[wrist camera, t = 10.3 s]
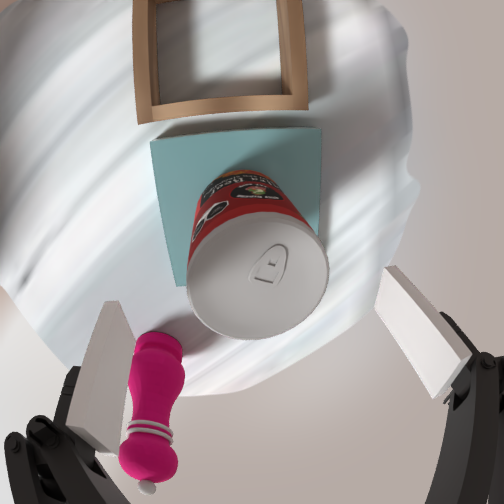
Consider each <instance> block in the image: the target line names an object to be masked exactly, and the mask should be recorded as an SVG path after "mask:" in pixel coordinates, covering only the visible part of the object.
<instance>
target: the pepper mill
mask: <svg viewBox="0 0 504 504" xmlns="http://www.w3.org/2000/svg"><path fill="white" fill-rule="evenodd" d="M181 362H182V347H181V345H180V343H179V342H178V341H177V340H176V339H174V338H173V337H171V336H169V335H167V334H164V333H160V332H150V333H146V334H143V335H141V336H140V337H139V338H138V339H137V342H136V346H135V350H134V355H133V358H132V363H131V368H130V374H129V380H128V386H129V389H130V392H131V396H132V401H133V416H132V420H131V421H130V422H128V423H127V425H126V427H127V431H126V432H125V434H126V436H127V438H128V439H127V440H125V441H124V442H123V443H122V444H121V445H120V447H119V457H118V458H119V462H120V465H121V467H122V469H123V470H124V471H125V472H126V473H127V474H128V475H130V476H131V477H133V478H135V479H138V480H140V482H139V483H138V489H139V491H140V492H141V493H143V494H145V495H151V494H154V493H155V491H156V486H155V484H154V483H159V482H164V481H166V480H169V479H170V478H172V477H173V476H174V474H175V473H176V470H177V467H178V459H177V455H176V453H175V451H174V450H173V449H172V448H171V447H170V445H172V443H173V439H172V437H173V431H172V430H171V429H170V428H169V418H170V411H171V408H172V406H173V404H174V402H175V400H176V399H177V397H178V395H179V394H180V392H181V390H182V388H183V385H184V379H185V371H184V368H183V366H182V365H181Z"/></svg>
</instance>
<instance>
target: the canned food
mask: <svg viewBox="0 0 504 504" xmlns="http://www.w3.org/2000/svg"><path fill="white" fill-rule="evenodd" d="M328 281H329V262H328V257H327V254H326V252H325V249H324V247H323V245H322V243H321V240H320V239H319V238H318V236H317V235H316V234H315V232H314V230H313V229H312V228H311V226H310V225H309V224H308V222H307V221H306V220H305V219H304V217H303V216H302V215H301V213H300V212H299V211H298V210H297V208H296V207H295V206H294V205H293V203H292V202H291V201H290V200H289V199H288V197H287V196H286V195H285V194H284V192H283V191H282V190H281V189H280V188H279V186H278V185H277V184H276V183H275V182H274V181H273V180H272V179H271V178H269V177H268V176H266V175H264V174H262V173H260V172H257V171H253V170H236V171H231V172H228V173H225V174H223V175H221V176H219V177H218V178H216V179H215V180H213V181H212V182H211V183H210V184H209V185H208V186H207V187H206V189H205V190H204V191H203V193H202V194H201V196H200V198H199V201H198V203H197V208H196V212H195V218H194V224H193V230H192V236H191V243H190V249H189V256H188V263H187V274H186V286H187V296H188V300H189V303H190V306H191V308H192V310H193V312H194V313H195V315H196V316H197V318H198V319H199V320H200V321H201V322H202V323H203V324H204V325H205V326H207V327H208V328H209V329H211V330H212V331H214V332H216V333H218V334H220V335H222V336H226V337H229V338H233V339H240V340H259V339H265V338H270V337H273V336H276V335H279V334H282V333H284V332H286V331H288V330H290V329H292V328H294V327H295V326H297V325H298V324H299V323H301V322H302V321H304V320H305V319H306V318H307V317H308V316H309V315H310V314H311V313H312V312H313V311H314V309H315V308H316V307H317V305H318V304H319V303H320V301H321V299H322V297H323V295H324V293H325V291H326V287H327V284H328Z"/></svg>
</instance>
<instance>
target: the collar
mask: <svg viewBox="0 0 504 504" xmlns="http://www.w3.org/2000/svg"><path fill="white" fill-rule="evenodd" d="M172 1H179V0H133V14H132V42H133V71H134V87H135V100H136V111H137V121H138V125H139V124H144V123H150V122H155V121H161V120H167V119H174V118H181V117H188V116H196V115H205V114H215V113H227V112H241V111H262V110H309V109H308V79H307V59H306V43H305V29H304V17H303V6H302V0H276V4H277V16H278V30H279V45H280V62H281V82H282V95H252V96H233V97H220V98H209V99H200V100H191V101H184V102H177V103H170V104H164V105H160V94H159V79H158V61H157V32H156V4H161V3H166V2H172Z"/></svg>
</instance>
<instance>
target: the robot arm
mask: <svg viewBox="0 0 504 504" xmlns="http://www.w3.org/2000/svg"><path fill="white" fill-rule="evenodd" d="M374 309H375V311H376V312H377V313H378V315H379V316H380V318H381V319H382V321H383V322H384V323H385V325H386V326H387V328H388V329H389V331H390V332H391V334H392V335H393V337H394V338H395V340H396V341H397V343H398V344H399V346H400V347H401V349H402V350H403V352H404V353H405V355H406V357H407V358H408V360H409V361H410V363H411V364H412V366H413V367H414V369H415V370H416V372H417V374H418V376H419V377H420V379H421V380H422V382H423V384H424V385H425V387H426V389H427V390H428V392H429V394H430V395H431V397H432V399H434V398H436V397H438V396H440V395H442V394H444V393H445V392H446V391H447V389H448V388H449V387H450V385H451V387H452V388H453V390H452V391H451V392H450V394H449V395H448V396H447V397H446V399H445V400H444V402H443V404H445V403H446V402H447V401H448V400H449V399H450V402H449V403H448V405H449V409H448V416H447V422H446V428H445V433H444V438H443V443H442V447H441V452H440V456H439V460H438V464H437V467H436V471H435V474H434V478H433V481H432V485H431V487H430V491H429V493H428V496H427V499H426V502H425V504H486V503H487V499H488V504H504V356H500V357H494V356H492V355H491V354H489V353H487V352H481V353H480V352H479V351H478V350H477V349H476V347H475V346H474V345H473V344H472V342H471V341H470V340H469V339H468V337H467V336H466V335H465V334H464V332H462V331H461V329H460V328H459V327H458V326H457V324H456V323H455V322H454V321H453V319H452V318H451V317H450V316H448V315H447V314H445V313H444V312H438V311H437V310H436V309H435V307H433V305H432V304H431V303H430V302H429V301H428V300H427V298H425V296H424V295H423V294H422V293H421V292H420V291H419V290H418V289H417V287H416V286H415V285H413V283H412V282H411V281H410V280H409V279H408V278H407V277H406V276H405V275H404V274H403V273H402V272H401V271H400V269H399V268H398V267H397V266H389V267H384V270H383V274H382V278H381V282H380V286H379V290H378V294H377V298H376V302H375V305H374ZM135 343H136V340H135V338H134V336H133V333H132V331H131V329H130V327H129V324H128V322H127V320H126V317H125V315H124V313H123V310H122V308H121V305H120V303H119V301H107V302H104V305H103V307H102V310H101V312H100V315H99V317H98V320H97V323H96V325H95V328H94V331H93V333H92V336H91V339H90V342H89V345H88V348H87V351H86V354H85V357H84V360H83V363H82V366H73V367H72V368H71V370H70V371H69V373H68V374H67V375H66V379H65V381H64V387H63V388H62V391H61V395H60V398H59V401H58V405H57V408H56V412H55V416H54V420H53V422H52V421H51V420H50V419H49V418H47V417H46V416H44V415H38V416H35V417H33V418H32V419H31V420H30V421H29V423H28V425H27V428H26V435H27V438H25V437H24V436H23V435H21V434H20V433H18V432H12V433H10V434H9V435H8V436H7V437H6V439H5V442H4V450H5V458H6V465H7V471H8V477H9V482H10V487H11V491H12V495H13V499H14V503H15V504H130V502H129V501H128V500H127V499H126V498H125V496H124V495H123V494H122V493H121V491H120V490H119V489H118V487H117V486H116V485H115V484H114V482H113V481H112V479H111V478H110V477H109V475H108V474H107V472H106V471H105V469H104V468H103V466H102V465H101V464H100V462H99V461H98V459H97V458H96V457H95V450H96V451H98V452H99V453H100V454H102V455H107V456H114V457H119V447H120V437H121V427H122V420H123V412H124V405H125V398H126V392H127V386H128V380H129V374H130V368H131V363H132V358H133V353H134V348H135ZM488 495H489V497H488Z"/></svg>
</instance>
